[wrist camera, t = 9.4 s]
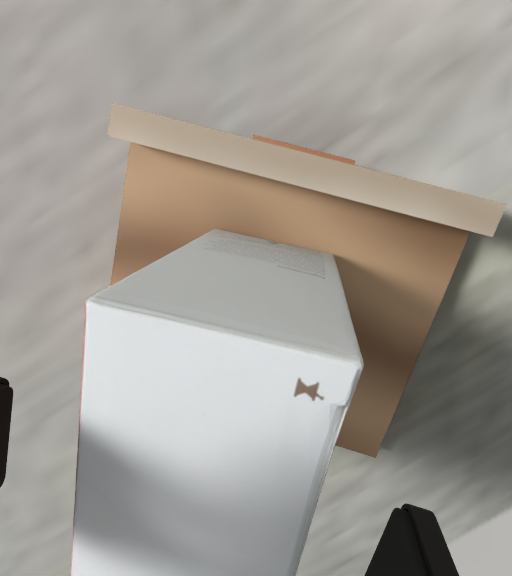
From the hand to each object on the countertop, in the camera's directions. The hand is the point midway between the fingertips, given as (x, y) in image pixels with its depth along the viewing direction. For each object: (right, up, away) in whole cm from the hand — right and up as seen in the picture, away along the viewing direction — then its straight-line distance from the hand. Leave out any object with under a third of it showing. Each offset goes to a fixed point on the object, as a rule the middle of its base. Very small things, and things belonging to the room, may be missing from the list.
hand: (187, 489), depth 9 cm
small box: (+2, +3, +9) cm, 10 cm away
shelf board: (+2, +5, +10) cm, 11 cm away
